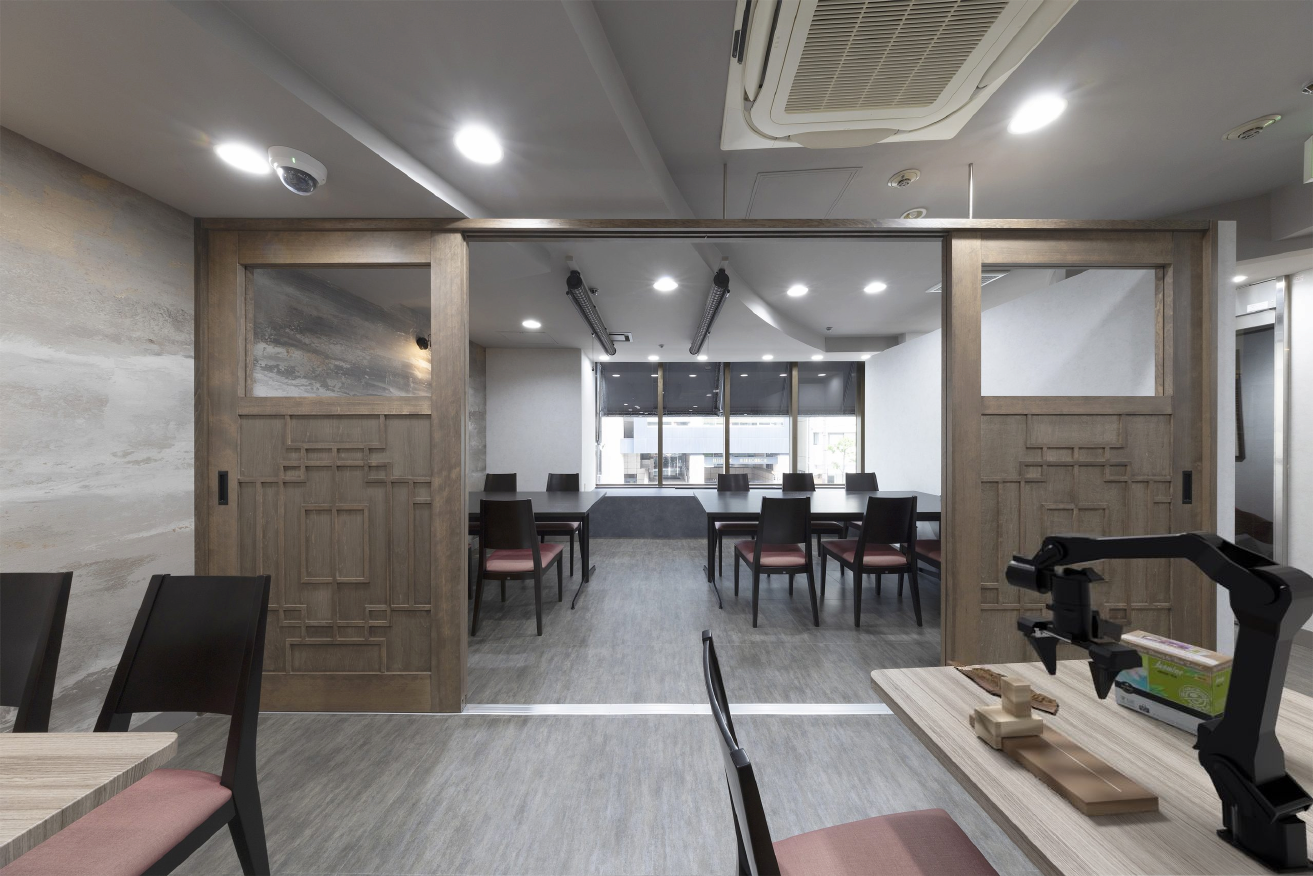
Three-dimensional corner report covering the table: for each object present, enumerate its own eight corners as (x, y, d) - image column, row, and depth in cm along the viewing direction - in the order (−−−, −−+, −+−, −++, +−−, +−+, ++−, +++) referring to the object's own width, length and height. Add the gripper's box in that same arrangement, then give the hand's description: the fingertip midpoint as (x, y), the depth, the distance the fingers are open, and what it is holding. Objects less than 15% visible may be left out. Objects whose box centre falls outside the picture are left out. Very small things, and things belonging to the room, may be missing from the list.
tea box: (1113, 704, 101) (1110, 635, 102) (1139, 694, 105) (1136, 628, 105) (1215, 744, 87) (1211, 664, 87) (1241, 732, 91) (1237, 655, 91)
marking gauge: (1043, 745, 87) (1041, 686, 87) (995, 749, 86) (993, 689, 86) (1021, 729, 92) (1018, 673, 92) (975, 732, 91) (973, 676, 91)
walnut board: (1159, 810, 72) (1158, 796, 72) (1086, 816, 71) (1086, 802, 71) (1024, 720, 96) (1024, 710, 96) (969, 723, 95) (969, 713, 95)
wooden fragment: (1075, 712, 99) (1075, 707, 99) (1035, 720, 96) (1035, 714, 96) (968, 659, 124) (968, 655, 124) (934, 665, 121) (934, 660, 121)
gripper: (1168, 615, 79) (1174, 709, 78) (1061, 585, 97) (1065, 661, 97) (1109, 619, 78) (1115, 715, 77) (1012, 588, 96) (1017, 665, 95)
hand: (1076, 686), depth 86 cm, fingers open, 9 cm apart
